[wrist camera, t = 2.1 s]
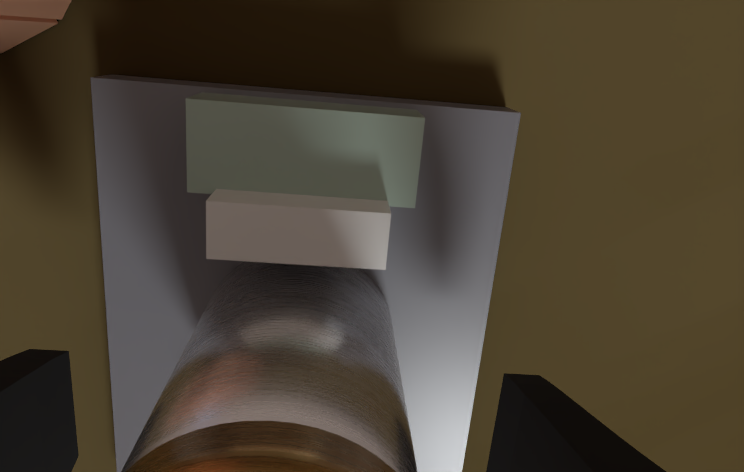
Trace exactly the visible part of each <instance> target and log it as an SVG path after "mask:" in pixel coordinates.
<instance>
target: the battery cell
mask: <svg viewBox="0 0 744 472" xmlns="http://www.w3.org/2000/svg"><path fill="white" fill-rule="evenodd" d="M121 472H417V466H416V460H415V454H414V449H413V443H412V437H411V431H410V425H409V419H408V413H407V408H406V402H405V396H404V390H403V384H402V378H401V372H400V366H399V361H398V355H397V349H396V343H395V337H394V331H393V325H392V319H391V315H390V311H389V307H388V305H387V303H386V300H385V298H384V296H383V294H382V292H381V291H380V289H379V287H378V286H377V285H376V284H375V282H374V281H373V280H372V279H371V277H370V276H368V275H367V274H366V273H365V272H364V271H363V270H362V269H361V268H346V267H329V266H313V265H297V264H281V263H265V262H249V261H243V262H242V263H241V264H239V265H238V266H236V267H235V268H234V269H233V270H231V271H230V272H229V273H228V274H227V275H226V276H225V277H224V279H223V280H222V281H221V282H220V284H219V285H218V286H217V288H216V290H215V291H214V293H213V295H212V297H211V299H210V301H209V303H208V305H207V306H206V308H205V310H204V312H203V314H202V316H201V318H200V320H199V322H198V324H197V326H196V328H195V330H194V332H193V334H192V335H191V337H190V339H189V341H188V343H187V345H186V347H185V349H184V351H183V353H182V355H181V357H180V359H179V361H178V363H177V364H176V366H175V368H174V370H173V372H172V374H171V376H170V378H169V380H168V382H167V384H166V386H165V388H164V390H163V392H162V393H161V395H160V397H159V399H158V401H157V403H156V405H155V407H154V409H153V411H152V413H151V415H150V417H149V419H148V421H147V422H146V424H145V426H144V428H143V430H142V432H141V434H140V436H139V438H138V440H137V442H136V444H135V446H134V448H133V450H132V452H131V453H130V455H129V457H128V459H127V461H126V463H125V465H124V467H123V469H122V471H121Z"/></svg>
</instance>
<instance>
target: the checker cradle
mask: <svg viewBox="0 0 744 472" xmlns="http://www.w3.org/2000/svg"><path fill="white" fill-rule="evenodd" d="M91 91H92V106H93V121H94V136H95V151H96V166H97V181H98V196H99V211H100V226H101V241H102V256H103V271H104V286H105V301H106V316H107V331H108V346H109V361H110V375H111V390H112V405H113V420H114V435H115V450H116V465H117V472H121V471H122V469H123V467H124V465H125V463H126V461H127V459H128V457H129V455H130V453H131V452H132V450H133V448H134V446H135V444H136V442H137V440H138V438H139V436H140V434H141V432H142V430H143V428H144V426H145V424H146V422H147V421H148V419H149V417H150V415H151V413H152V411H153V409H154V407H155V405H156V403H157V401H158V399H159V397H160V395H161V393H162V392H163V390H164V388H165V386H166V384H167V382H168V380H169V378H170V376H171V374H172V372H173V370H174V368H175V366H176V364H177V363H178V361H179V359H180V357H181V355H182V353H183V351H184V349H185V347H186V345H187V343H188V341H189V339H190V337H191V335H192V334H193V332H194V330H195V328H196V326H197V324H198V322H199V320H200V318H201V316H202V314H203V312H204V310H205V308H206V306H207V305H208V303H209V301H210V299H211V297H212V295H213V293H214V291H215V290H216V288H217V286H218V285H219V284H220V282H221V281H222V280H223V279H224V277H225V276H226V275H227V274H228V273H229V272H230V271H231V270H233V269H234V268H235V267H236V266H238V265H239V264H241V263H242V262H243V261H249V262H265V263H281V264H297V265H313V266H329V267H346V268H361V269H362V270H363V271H364V272H365V273H366V274H367V275H368V276H370V277H371V279H372V280H373V281H374V282H375V284H376V285H377V286H378V287H379V289H380V291H381V292H382V294H383V296H384V298H385V300H386V303H387V305H388V307H389V311H390V315H391V319H392V325H393V331H394V337H395V343H396V349H397V355H398V361H399V366H400V372H401V378H402V384H403V390H404V396H405V402H406V408H407V413H408V419H409V425H410V431H411V437H412V443H413V449H414V454H415V460H416V466H417V472H462V468H463V462H464V456H465V450H466V444H467V438H468V432H469V426H470V419H471V413H472V407H473V401H474V395H475V389H476V383H477V377H478V371H479V365H480V358H481V352H482V346H483V340H484V334H485V328H486V322H487V316H488V310H489V304H490V297H491V291H492V285H493V279H494V273H495V267H496V261H497V255H498V249H499V243H500V236H501V230H502V224H503V218H504V212H505V206H506V200H507V194H508V188H509V182H510V175H511V169H512V163H513V157H514V151H515V145H516V139H517V133H518V127H519V120H520V114H521V113H520V112H517V111H515V110H512V109H510V108H507V107H498V106H486V105H474V104H462V103H450V102H438V101H425V100H413V99H401V98H389V97H377V96H365V95H353V94H341V93H329V92H317V91H305V90H293V89H281V88H269V87H257V86H245V85H233V84H221V83H209V82H197V81H185V80H173V79H161V78H149V77H137V76H125V75H113V74H111V75H104V76H97V77H91Z"/></svg>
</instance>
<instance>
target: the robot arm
mask: <svg viewBox="0 0 744 472" xmlns="http://www.w3.org/2000/svg"><path fill="white" fill-rule="evenodd" d="M77 458H78V446H77V435H76V425H75V414H74V403H73V392H72V382H71V371H70V360H69V351H57V350H37V349H29V350H26V351H24V352H21V353H18V354H16V355H13V356H11V357H9V358H6V359H4V360H2V361H0V472H71V471H72V469H73V467H74V464H75V462H76V460H77ZM486 472H666V471H665V470H663V469H662V468H660V467H659V466H658V465H656V464H655V463H654V462H652V461H651V460H649V459H648V458H647V457H645V456H644V455H643V454H641V453H640V452H639V451H637V450H636V449H635V448H633V447H632V446H631V445H629V444H628V443H627V442H625V441H624V440H623V439H622V438H620V437H619V436H618V435H616V434H615V433H614V432H613V431H611V430H610V429H609V428H607V427H606V426H605V425H604V424H602V423H601V422H600V421H599V420H597V419H596V418H595V417H593V416H592V415H591V414H590V413H588V412H587V411H586V410H585V409H583V408H582V407H581V406H580V405H578V404H577V403H576V402H575V401H573V400H572V399H571V398H569V397H568V396H567V395H566V394H564V393H563V392H562V391H560V390H559V389H558V388H557V387H555V386H554V385H552V384H551V383H550V382H548V381H547V380H545V379H544V378H542V377H541V376H539V375H522V374H504V377H503V383H502V388H501V394H500V399H499V405H498V410H497V416H496V421H495V427H494V432H493V438H492V443H491V449H490V454H489V460H488V465H487V471H486Z"/></svg>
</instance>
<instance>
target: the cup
mask: <svg viewBox="0 0 744 472" xmlns="http://www.w3.org/2000/svg"><path fill="white" fill-rule="evenodd" d="M71 1H72V0H0V54H1V53H3V52H5V51H7V50H9V49H11V48H12V47H14V46H16V45H18V44H20V43H22V42H24V41H26V40H28V39H29V38H31V37H33V36H35V35H37V34H39V33H41V32H43V31H45V30H46V29H48V28H50V27H52V26H54V25H56V24H58V22H57V20H56V19H60V20H62V18H63V16H64V14H65V12H66V10H67V8H68V7H69V5H70V3H71Z"/></svg>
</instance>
